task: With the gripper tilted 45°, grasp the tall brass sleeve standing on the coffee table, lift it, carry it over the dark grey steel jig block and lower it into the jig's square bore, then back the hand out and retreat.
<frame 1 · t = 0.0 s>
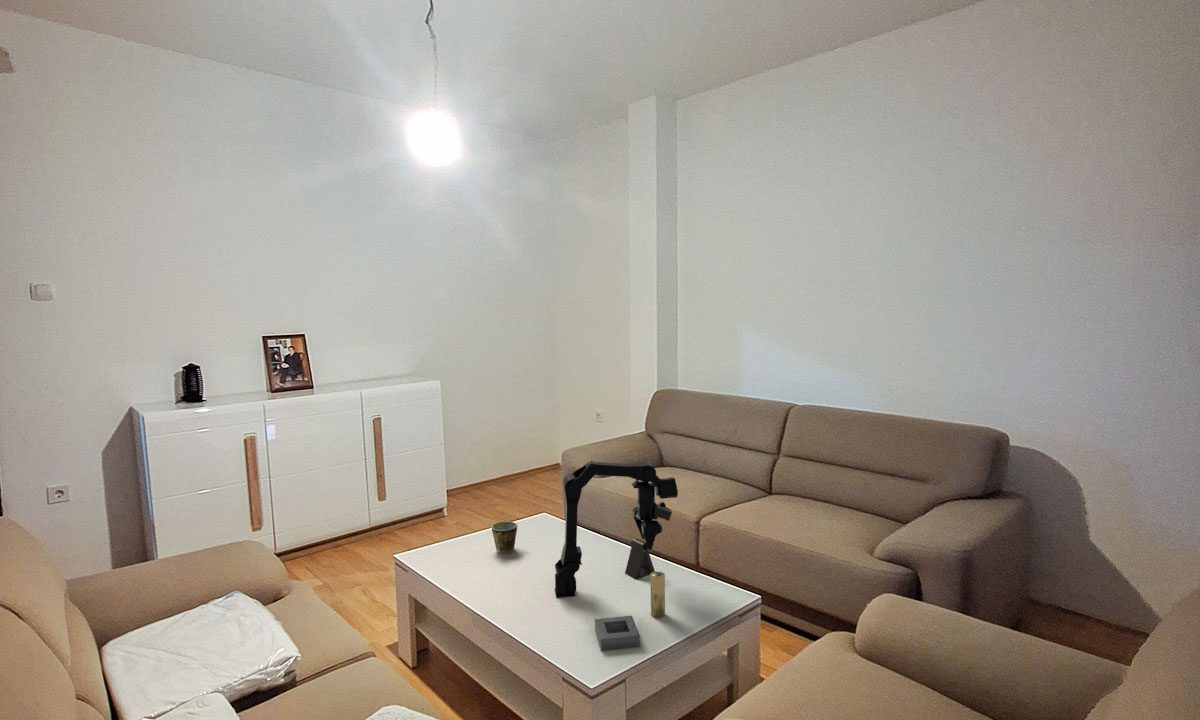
hand: (647, 544, 211), 15 cm above the table, tool pointing down, fingers open, 9 cm apart
ceramic cup: (504, 552, 244), on the table
phone stand: (640, 573, 223), on the table
brass sleeve: (658, 614, 193), on the table
jig block: (616, 638, 180), on the table
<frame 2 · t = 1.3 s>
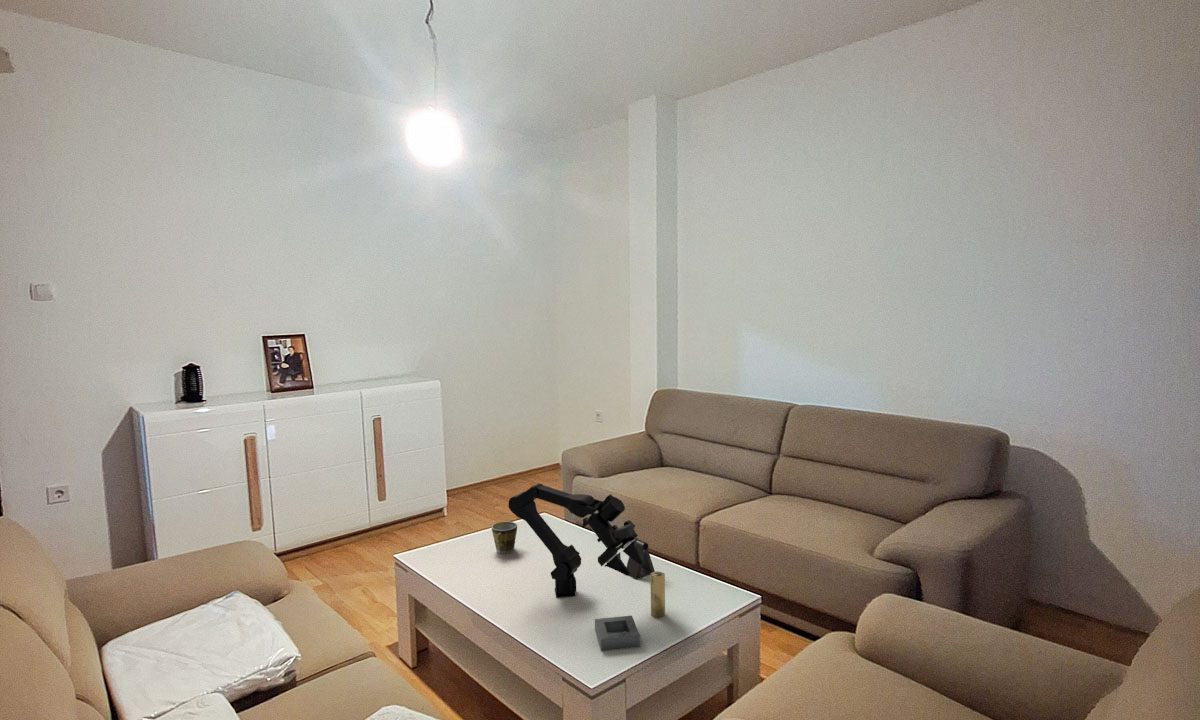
hand: (635, 569, 195), 13 cm above the table, tool tilted 45°, fingers open, 9 cm apart
nothing on the table moved.
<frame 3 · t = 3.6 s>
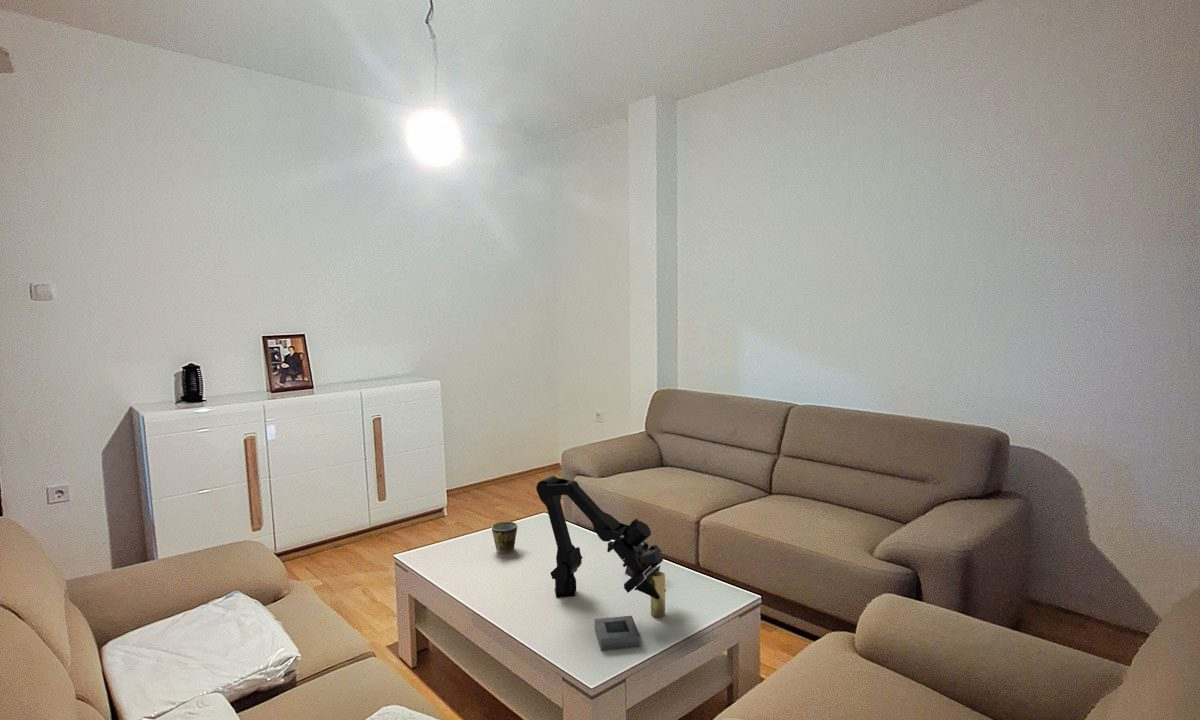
hand: (662, 595, 192), 7 cm above the table, tool tilted 45°, fingers closed on brass sleeve, 4 cm apart
brass sleeve: (658, 614, 193), on the table, touching gripper
everything else where it was.
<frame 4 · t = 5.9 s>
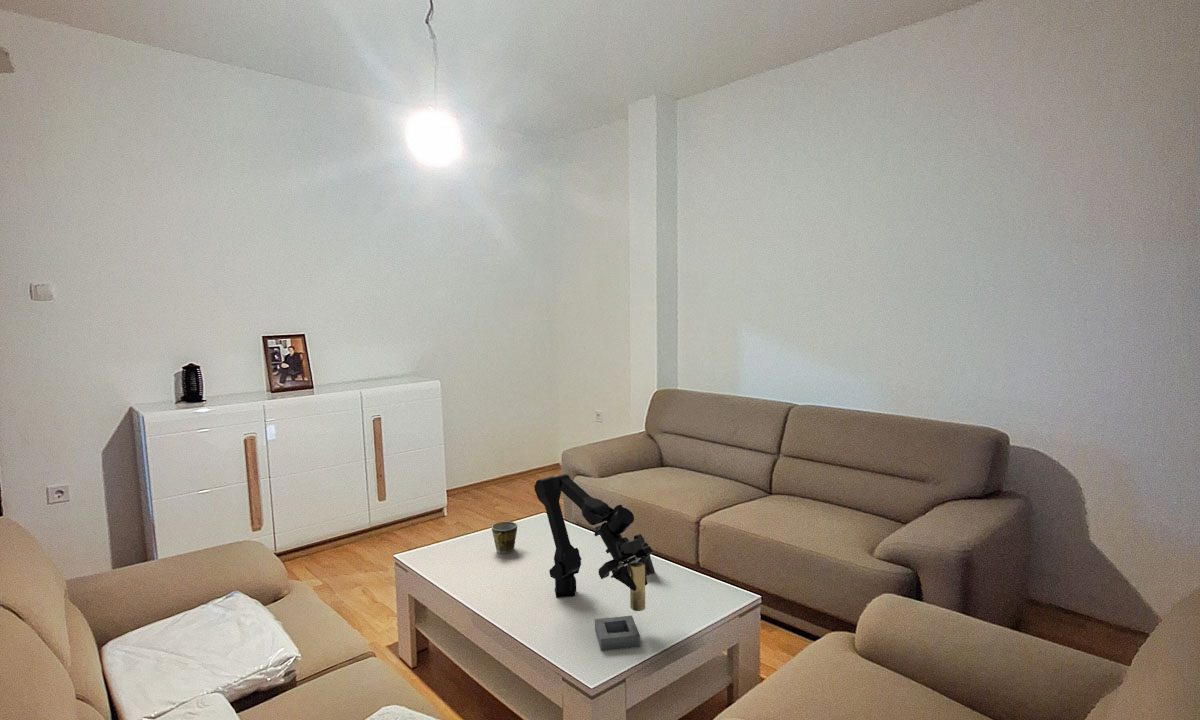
hand: (640, 587, 182), 13 cm above the table, tool tilted 45°, fingers closed on brass sleeve, 4 cm apart
brass sleeve: (637, 607, 184), point 7 cm above the table, touching gripper
everything else where it was.
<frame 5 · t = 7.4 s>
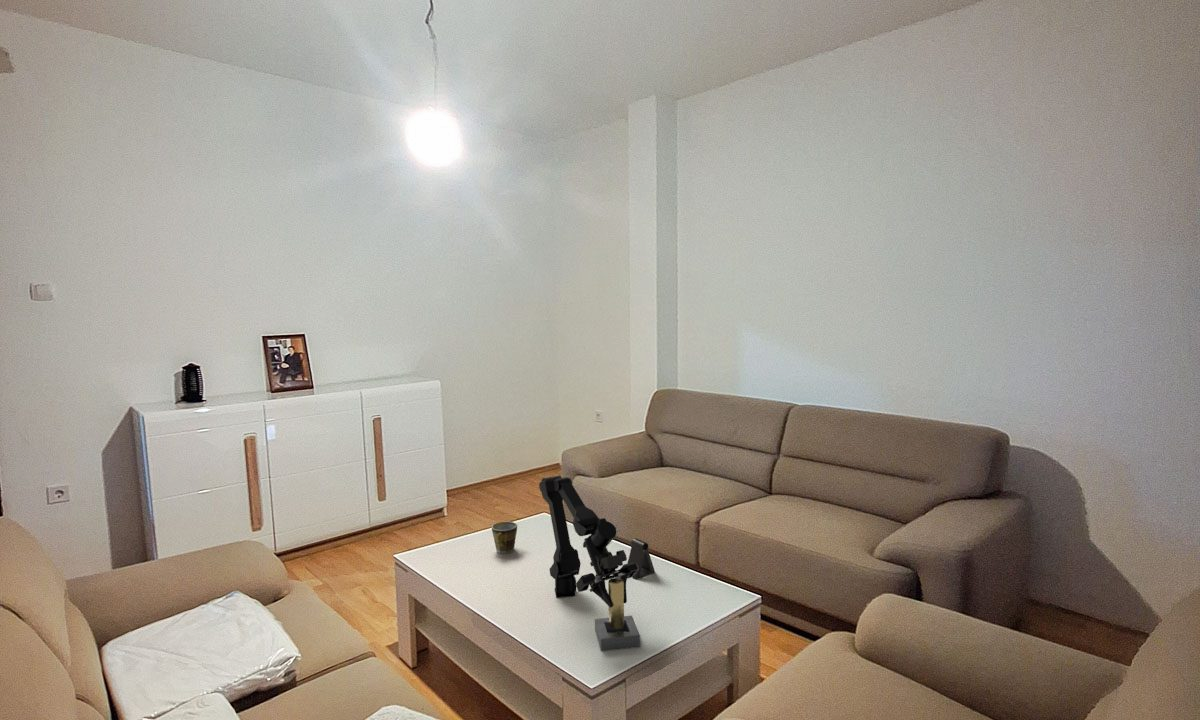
hand: (618, 604, 178), 11 cm above the table, tool tilted 45°, fingers closed on brass sleeve, 4 cm apart
brass sleeve: (616, 624, 179), point 4 cm above the table, touching gripper
everything else where it was.
when the fingers open (8 cm above the table, at t = 8.4 s): brass sleeve drops 1 cm, resting in jig block.
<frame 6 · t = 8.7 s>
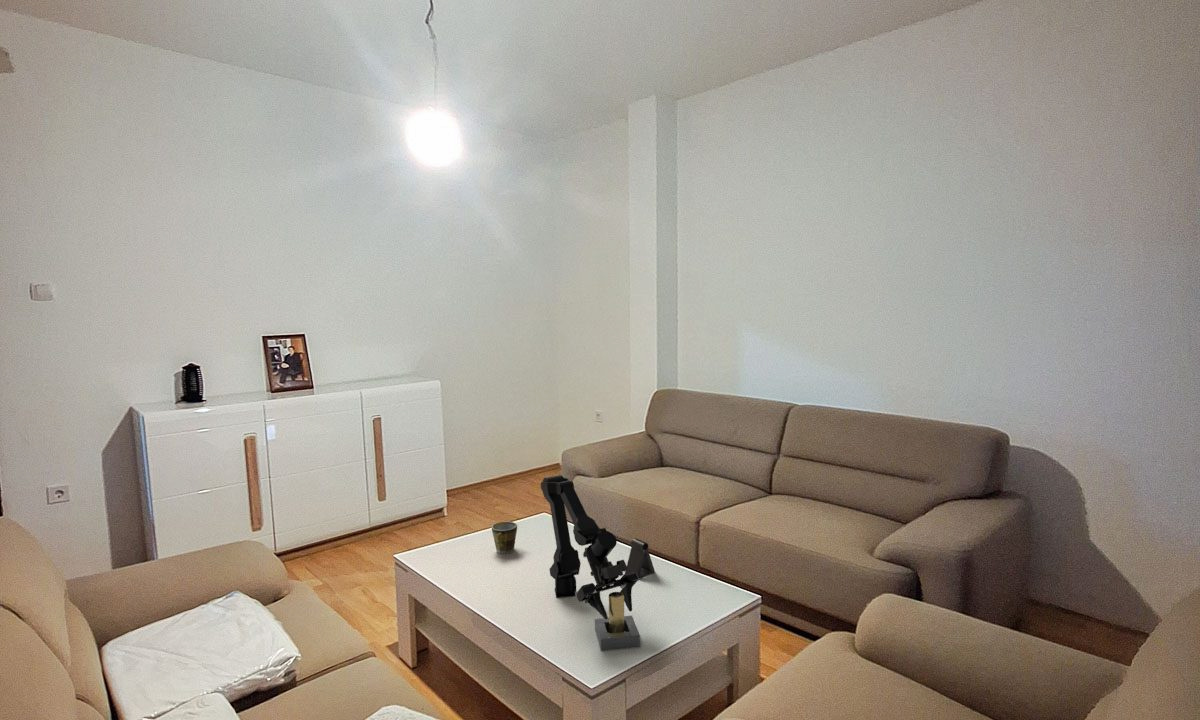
hand: (619, 614, 178), 8 cm above the table, tool tilted 45°, fingers open, 8 cm apart
brass sleeve: (616, 638, 180), resting in jig block
everything else where it was.
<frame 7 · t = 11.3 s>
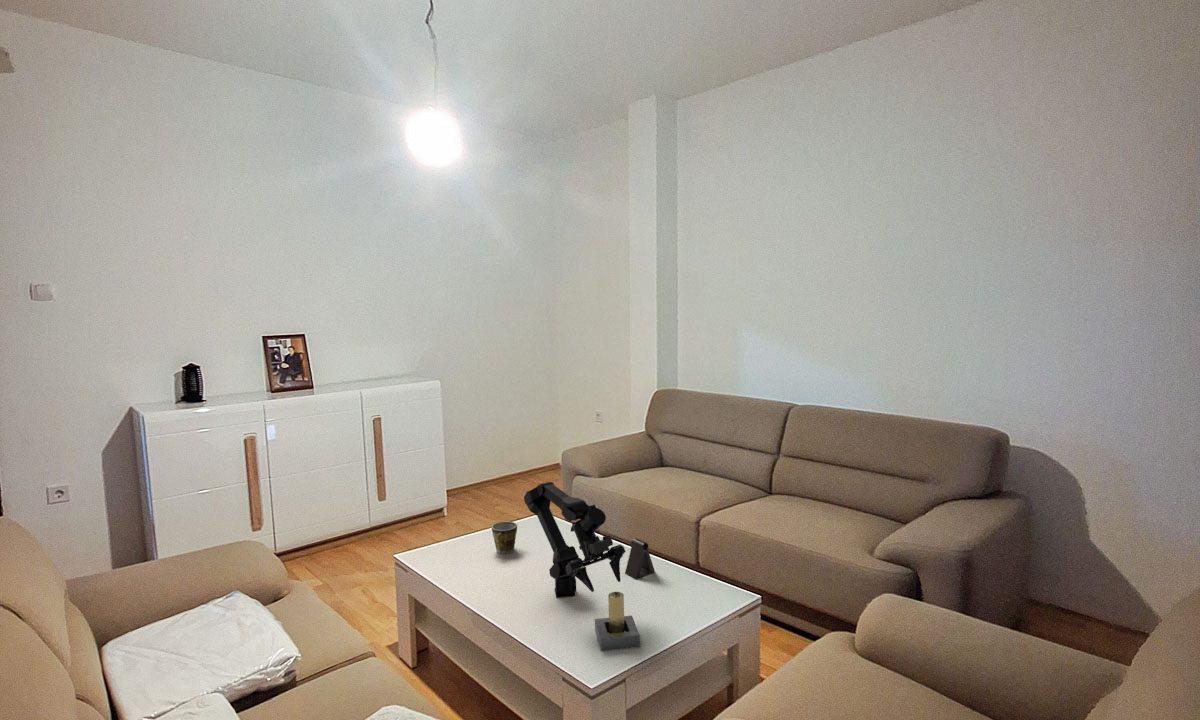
hand: (606, 586, 188), 11 cm above the table, tool tilted 40°, fingers open, 9 cm apart
nothing on the table moved.
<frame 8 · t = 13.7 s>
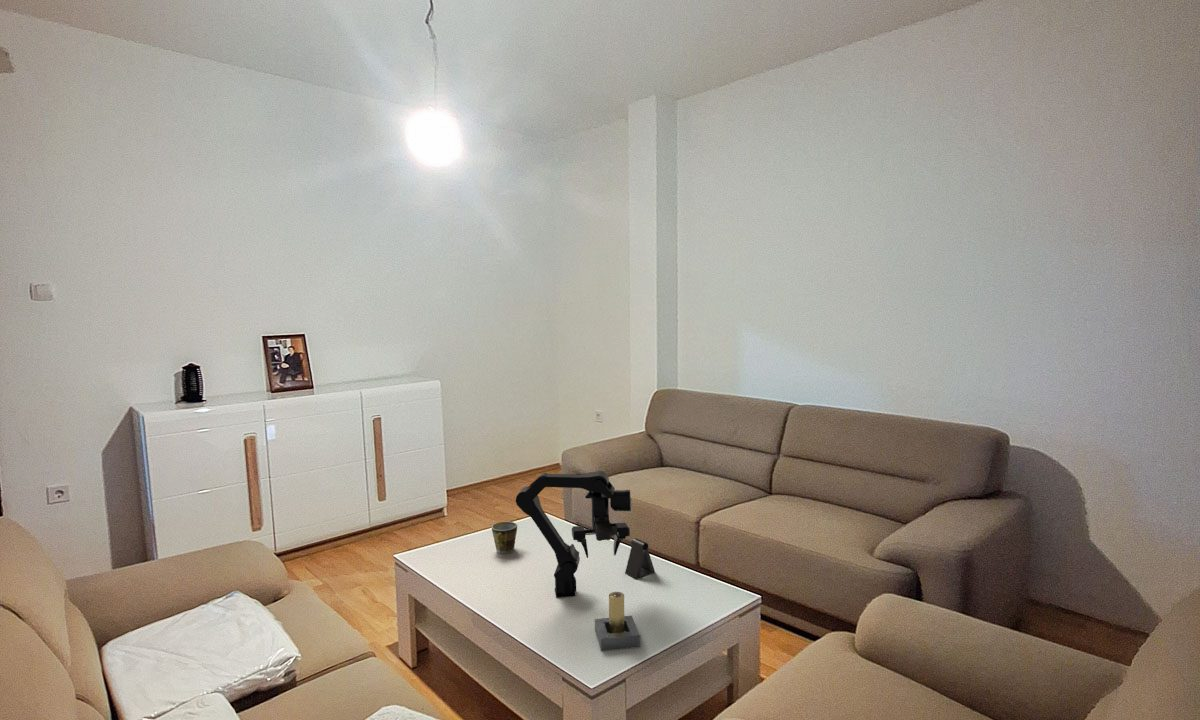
hand: (601, 556, 206), 13 cm above the table, tool pointing down, fingers open, 9 cm apart
nothing on the table moved.
at the end: brass sleeve 0.0 cm off-centre on the jig block, point 0.0 cm above the jig block's base; brass sleeve tilted 0°; the gripper is holding nothing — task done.
